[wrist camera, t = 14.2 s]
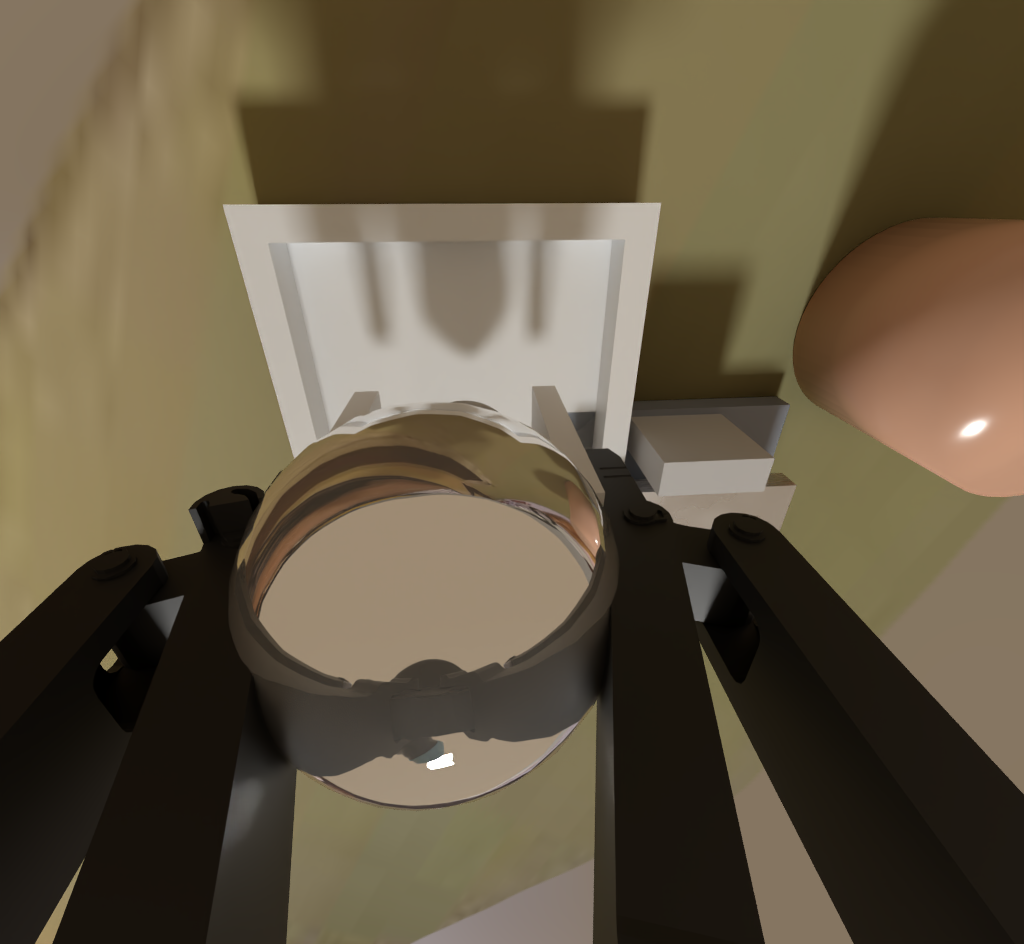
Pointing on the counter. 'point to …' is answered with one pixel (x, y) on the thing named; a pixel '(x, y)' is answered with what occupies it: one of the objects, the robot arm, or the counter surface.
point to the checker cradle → (701, 443)
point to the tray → (449, 306)
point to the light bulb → (425, 604)
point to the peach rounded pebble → (927, 347)
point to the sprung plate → (726, 503)
